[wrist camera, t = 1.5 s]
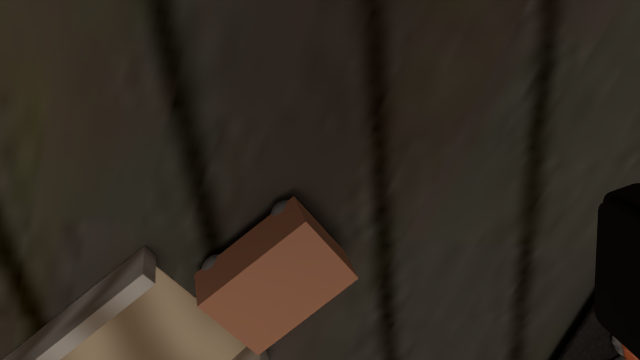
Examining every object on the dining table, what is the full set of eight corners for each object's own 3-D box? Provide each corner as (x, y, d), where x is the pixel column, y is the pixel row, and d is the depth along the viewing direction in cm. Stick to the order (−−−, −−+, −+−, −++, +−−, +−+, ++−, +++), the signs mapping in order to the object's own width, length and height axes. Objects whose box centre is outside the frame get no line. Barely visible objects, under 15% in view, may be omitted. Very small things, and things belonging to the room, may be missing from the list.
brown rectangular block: (288, 186, 34) (303, 219, 30) (341, 244, 37) (360, 280, 33) (191, 263, 34) (194, 304, 31) (250, 314, 37) (259, 357, 34)
